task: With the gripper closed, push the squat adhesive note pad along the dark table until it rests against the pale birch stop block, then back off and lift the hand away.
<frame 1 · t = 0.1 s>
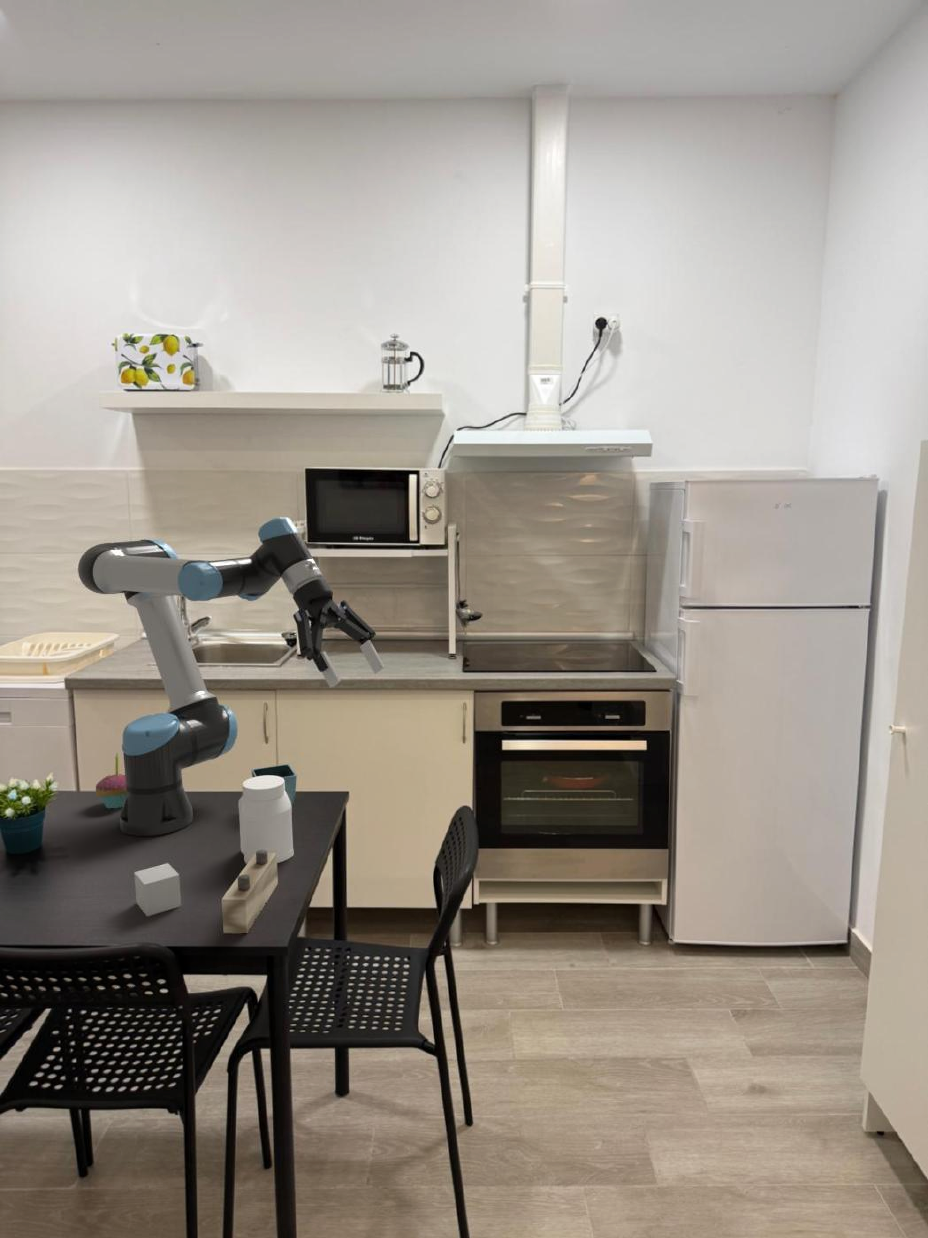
hand: (358, 677, 169), 36 cm above the table, tool tilted 35°, fingers open, 13 cm apart
jar: (267, 854, 174), on the table
adhesive note: (158, 906, 153), on the table
stop block: (252, 906, 152), on the table
cupcake: (117, 806, 200), on the table
flower pot: (275, 810, 197), on the table
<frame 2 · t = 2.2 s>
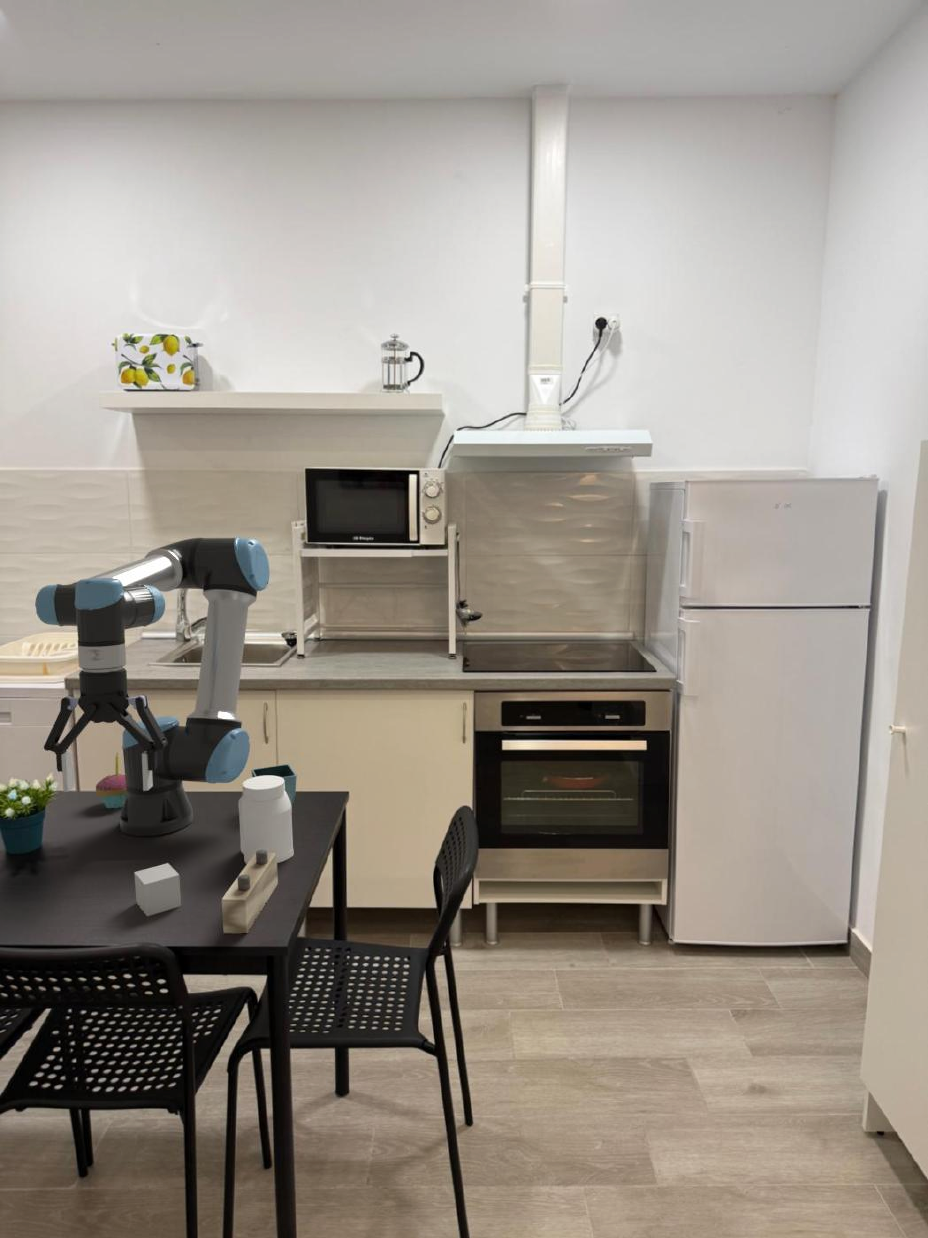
hand: (108, 789, 150), 22 cm above the table, tool pointing down, fingers open, 13 cm apart
nothing on the table moved.
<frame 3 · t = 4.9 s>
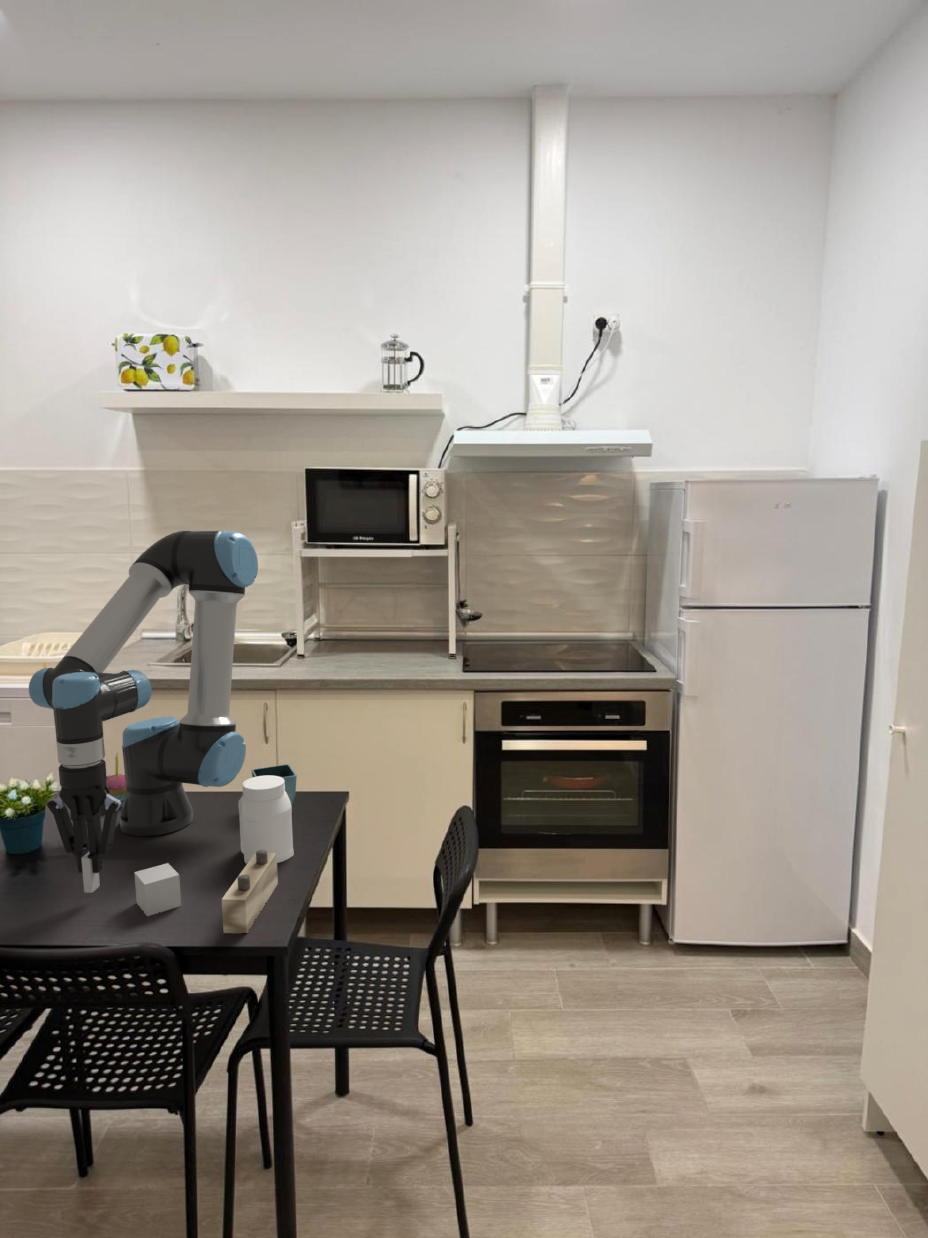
hand: (92, 889, 153), 3 cm above the table, tool pointing down, fingers closed
nothing on the table moved.
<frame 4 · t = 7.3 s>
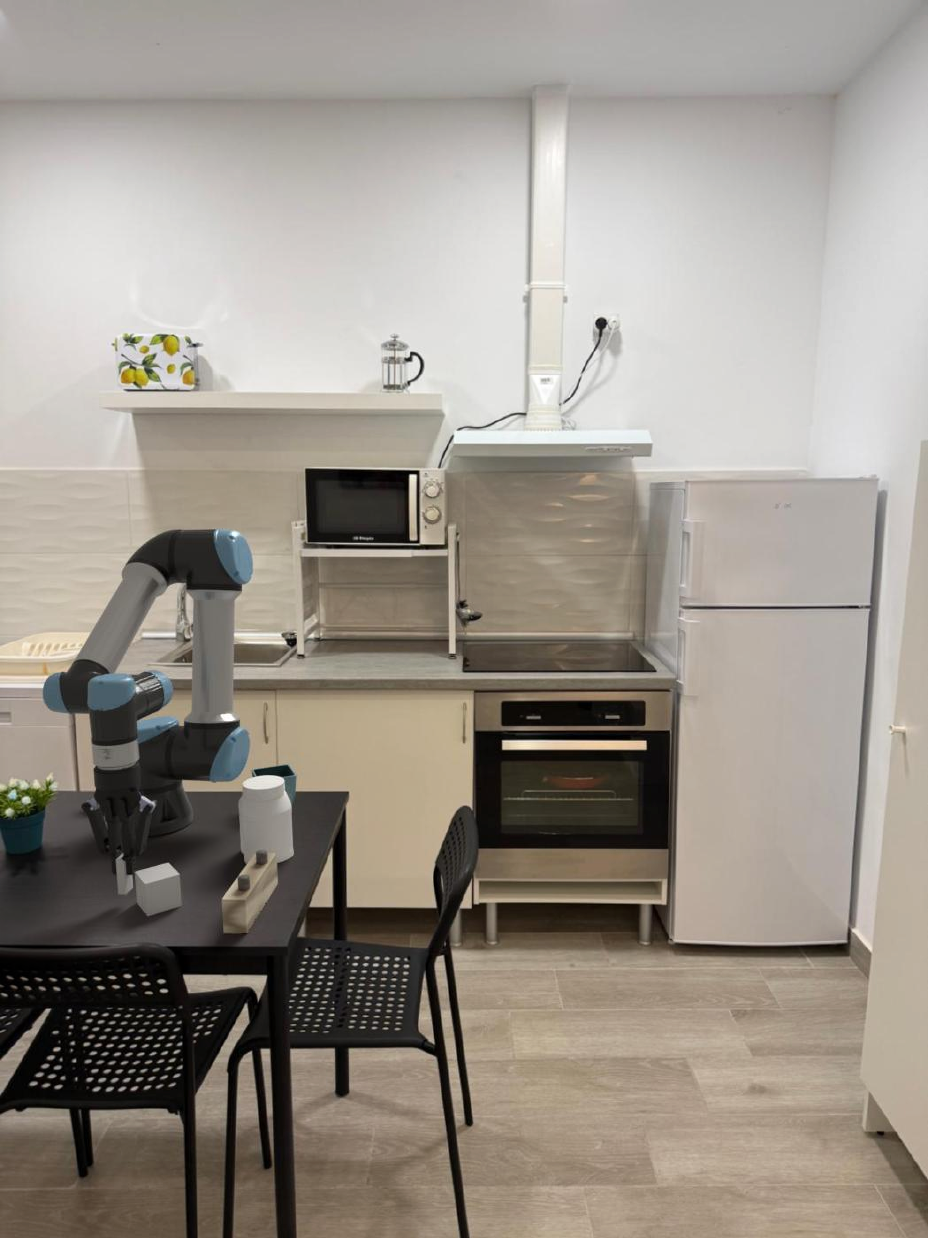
hand: (125, 890, 153), 3 cm above the table, tool pointing down, fingers closed
adhesive note: (159, 905, 153), on the table, touching gripper
everything else where it was.
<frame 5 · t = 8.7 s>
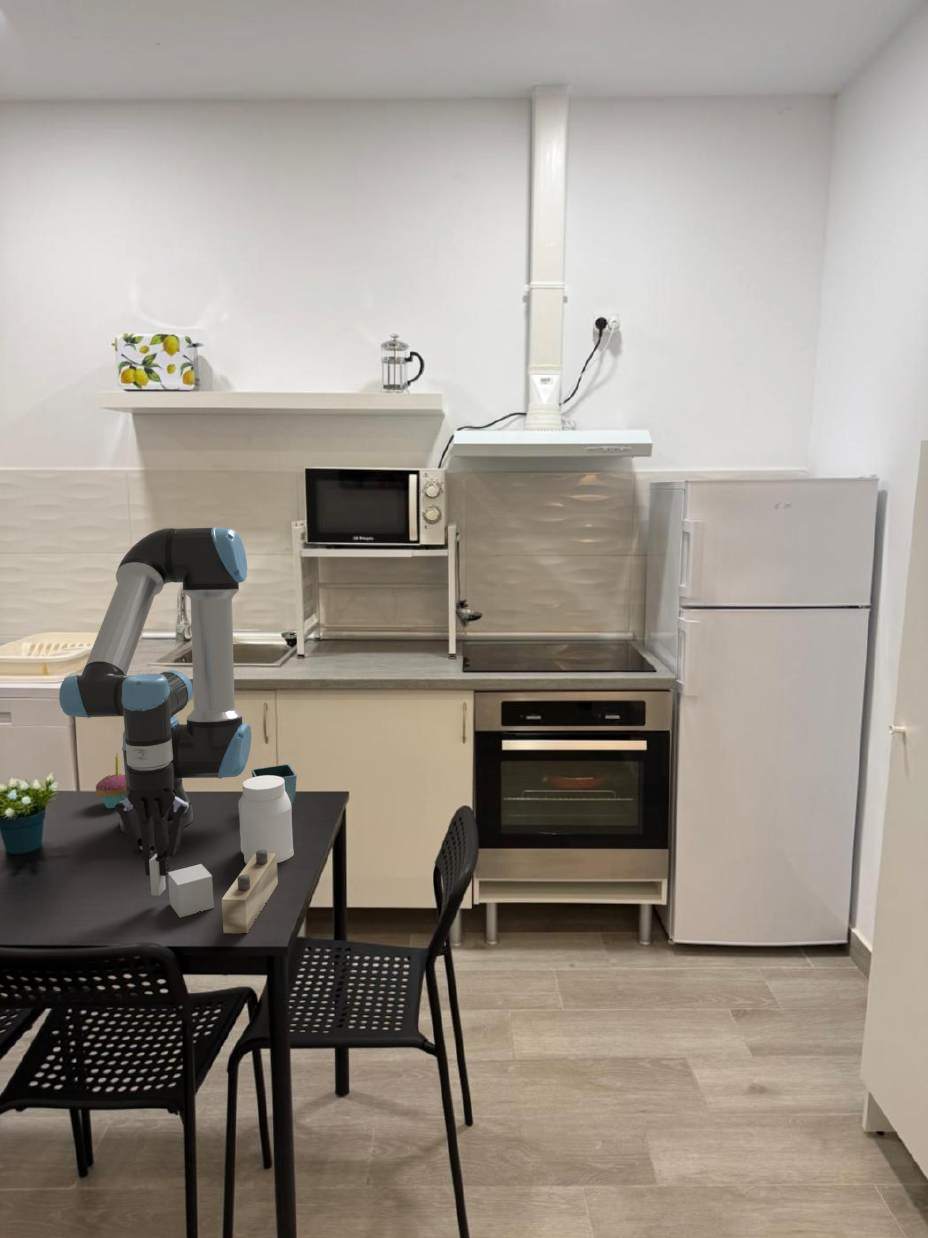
hand: (158, 891, 152), 3 cm above the table, tool pointing down, fingers closed
adhesive note: (191, 907, 152), on the table, touching gripper
everything else where it was.
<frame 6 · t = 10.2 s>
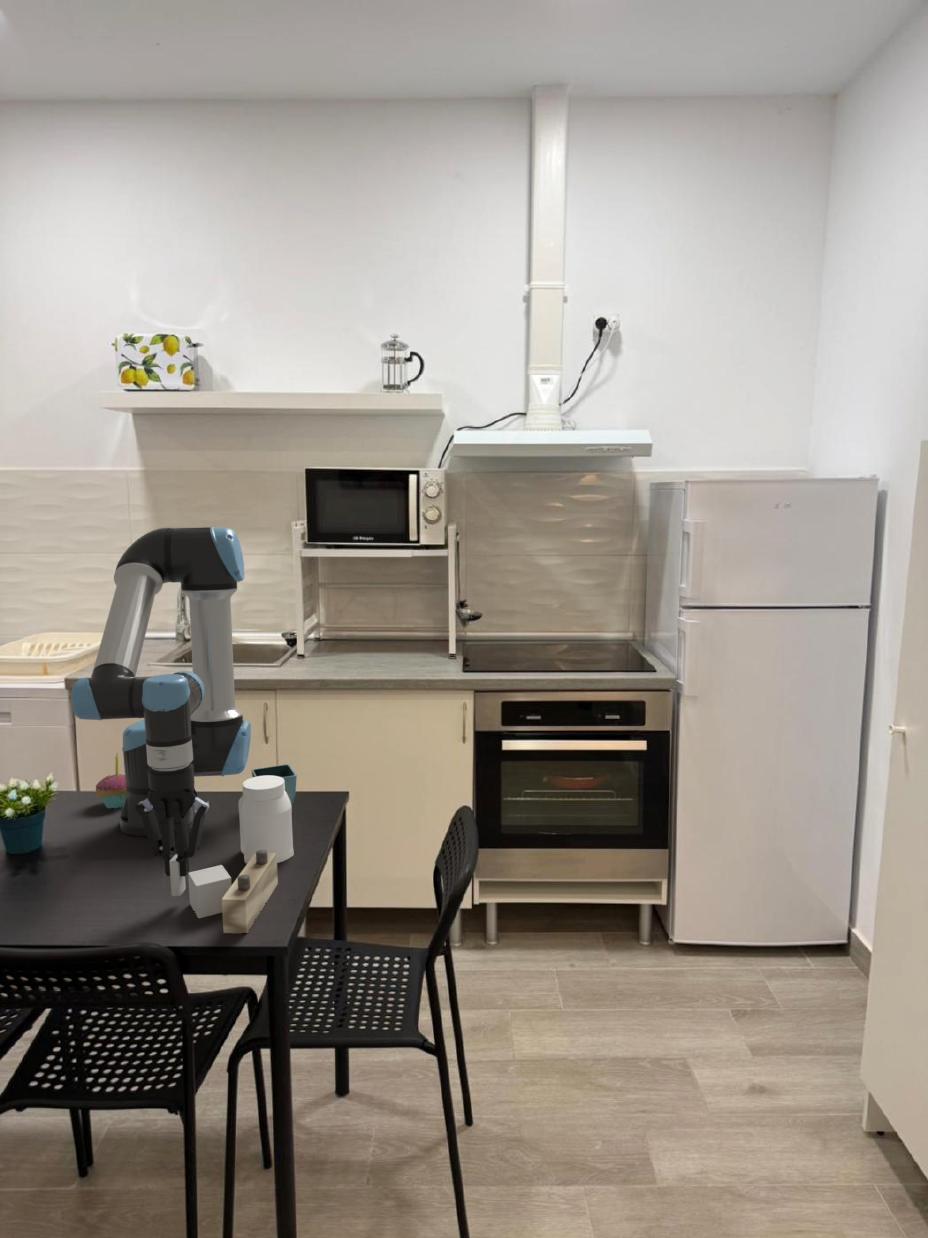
hand: (178, 892, 152), 2 cm above the table, tool pointing down, fingers closed
adhesive note: (211, 908, 152), on the table, touching gripper
everything else where it was.
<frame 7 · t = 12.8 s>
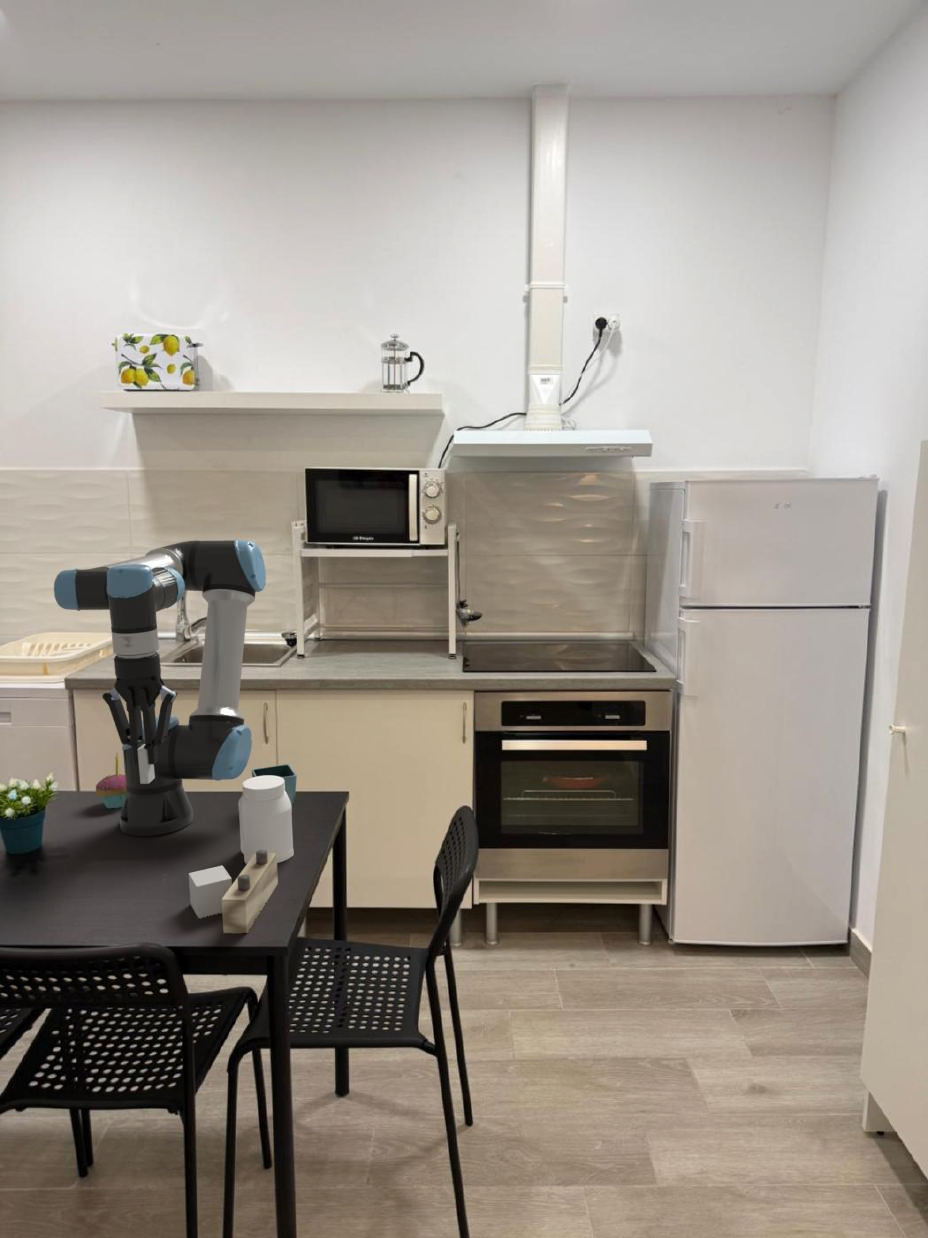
hand: (147, 780, 155), 21 cm above the table, tool pointing down, fingers closed
adhesive note: (211, 908, 152), on the table
everything else where it was.
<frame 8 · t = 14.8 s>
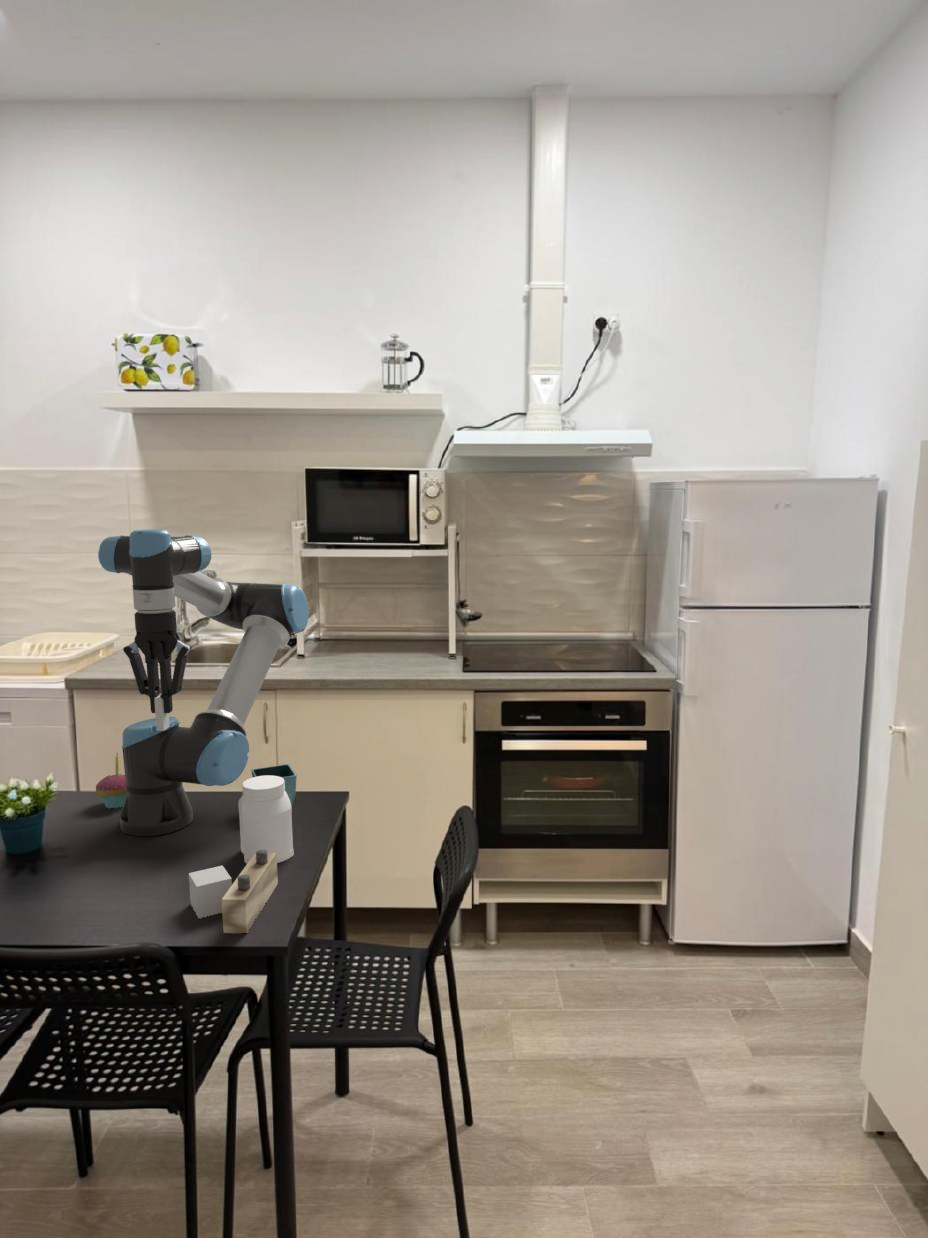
hand: (163, 728, 169), 26 cm above the table, tool pointing down, fingers closed
nothing on the table moved.
at the end: adhesive note inside the target area (0.5 cm from its centre), on the table; adhesive note tilted 0°; adhesive note moved 9.8 cm from its start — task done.
